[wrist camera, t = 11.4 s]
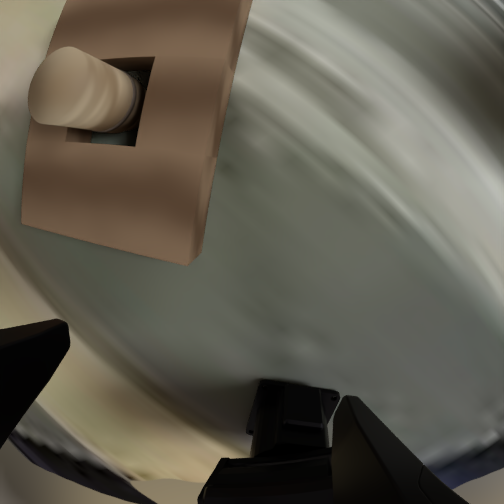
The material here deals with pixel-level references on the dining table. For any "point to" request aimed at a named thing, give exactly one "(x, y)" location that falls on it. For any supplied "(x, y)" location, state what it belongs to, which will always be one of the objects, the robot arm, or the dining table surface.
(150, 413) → the dining table surface
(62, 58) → the peg
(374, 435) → the robot arm
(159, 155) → the board
